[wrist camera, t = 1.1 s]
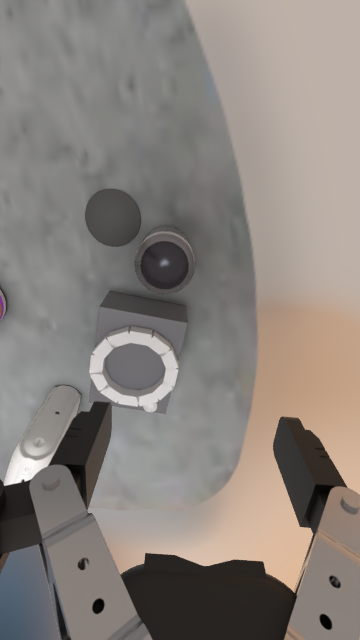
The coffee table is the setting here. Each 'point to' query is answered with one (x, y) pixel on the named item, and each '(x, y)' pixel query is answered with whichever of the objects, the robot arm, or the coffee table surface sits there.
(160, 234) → the lens
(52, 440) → the photo printer
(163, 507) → the coffee table surface
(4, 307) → the supplement bottle
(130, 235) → the lens cap
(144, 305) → the camera body
